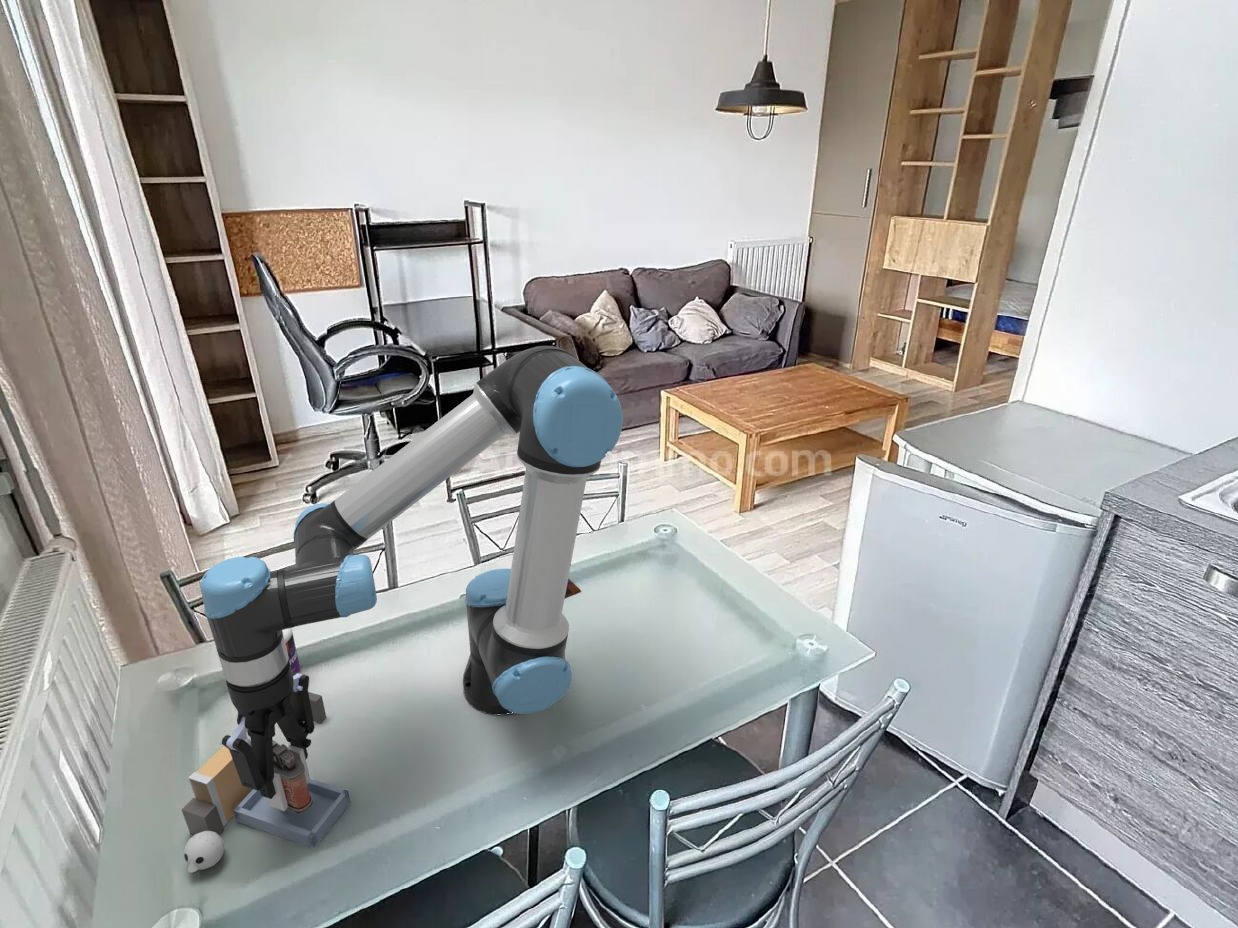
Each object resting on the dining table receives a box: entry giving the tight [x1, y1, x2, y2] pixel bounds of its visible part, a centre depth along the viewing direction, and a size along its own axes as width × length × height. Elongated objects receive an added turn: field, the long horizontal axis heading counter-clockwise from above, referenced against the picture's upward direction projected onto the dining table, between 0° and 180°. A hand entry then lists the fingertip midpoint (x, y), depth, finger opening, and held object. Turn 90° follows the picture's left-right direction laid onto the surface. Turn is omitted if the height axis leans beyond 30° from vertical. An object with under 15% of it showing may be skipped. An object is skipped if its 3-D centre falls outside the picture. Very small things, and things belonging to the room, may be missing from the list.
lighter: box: [272, 739, 313, 814], centre depth 97 cm, size 8×3×10 cm, turn 58°
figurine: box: [183, 831, 225, 874], centre depth 92 cm, size 5×5×5 cm
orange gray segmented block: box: [181, 691, 327, 836], centre depth 104 cm, size 4×24×9 cm, turn 163°
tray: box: [234, 778, 351, 849], centre depth 100 cm, size 13×8×2 cm, turn 73°
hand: (290, 792), depth 98 cm, fingers closed on lighter, 4 cm apart
